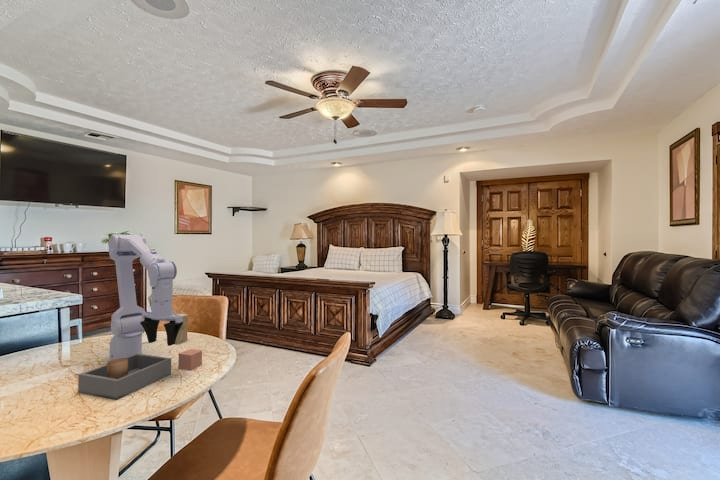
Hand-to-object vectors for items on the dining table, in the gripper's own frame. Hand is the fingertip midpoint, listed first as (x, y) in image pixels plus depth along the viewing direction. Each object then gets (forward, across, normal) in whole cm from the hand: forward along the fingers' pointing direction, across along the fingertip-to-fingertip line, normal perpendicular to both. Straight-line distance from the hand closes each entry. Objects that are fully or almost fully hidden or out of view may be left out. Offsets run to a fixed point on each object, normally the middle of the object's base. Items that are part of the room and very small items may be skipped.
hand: (161, 343), depth 108 cm
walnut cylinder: (+9, +4, +11) cm, 15 cm away
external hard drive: (+11, +36, -21) cm, 43 cm away
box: (+10, +21, -28) cm, 36 cm away
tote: (+10, +4, +8) cm, 13 cm away
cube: (+10, -3, -8) cm, 14 cm away
